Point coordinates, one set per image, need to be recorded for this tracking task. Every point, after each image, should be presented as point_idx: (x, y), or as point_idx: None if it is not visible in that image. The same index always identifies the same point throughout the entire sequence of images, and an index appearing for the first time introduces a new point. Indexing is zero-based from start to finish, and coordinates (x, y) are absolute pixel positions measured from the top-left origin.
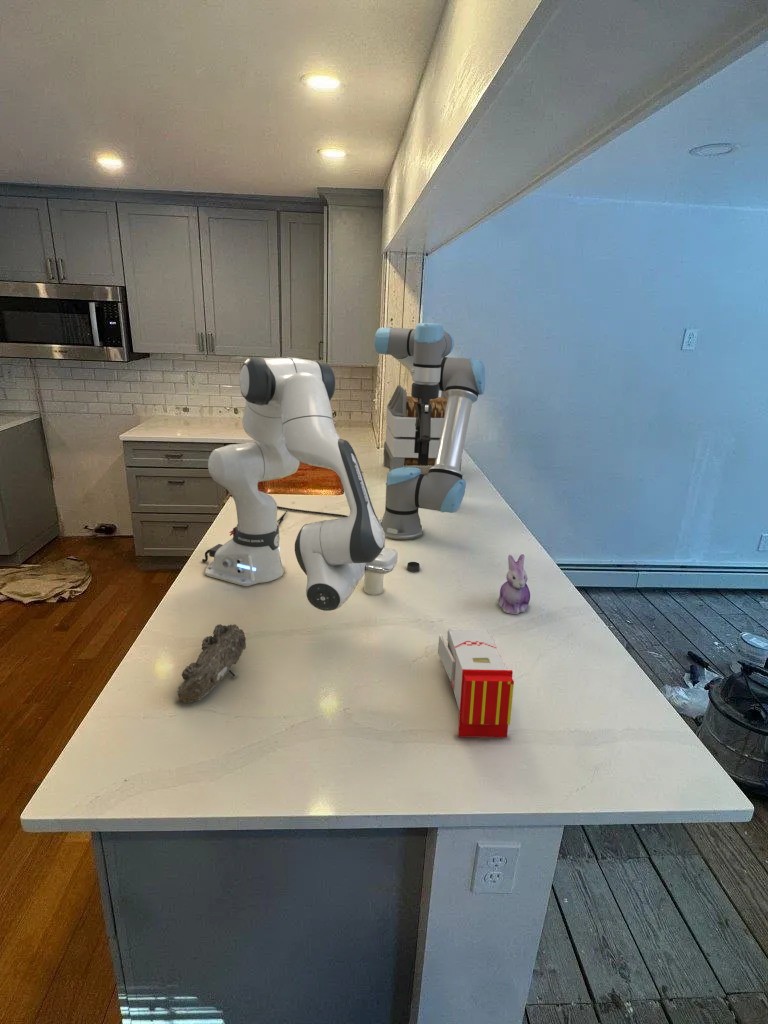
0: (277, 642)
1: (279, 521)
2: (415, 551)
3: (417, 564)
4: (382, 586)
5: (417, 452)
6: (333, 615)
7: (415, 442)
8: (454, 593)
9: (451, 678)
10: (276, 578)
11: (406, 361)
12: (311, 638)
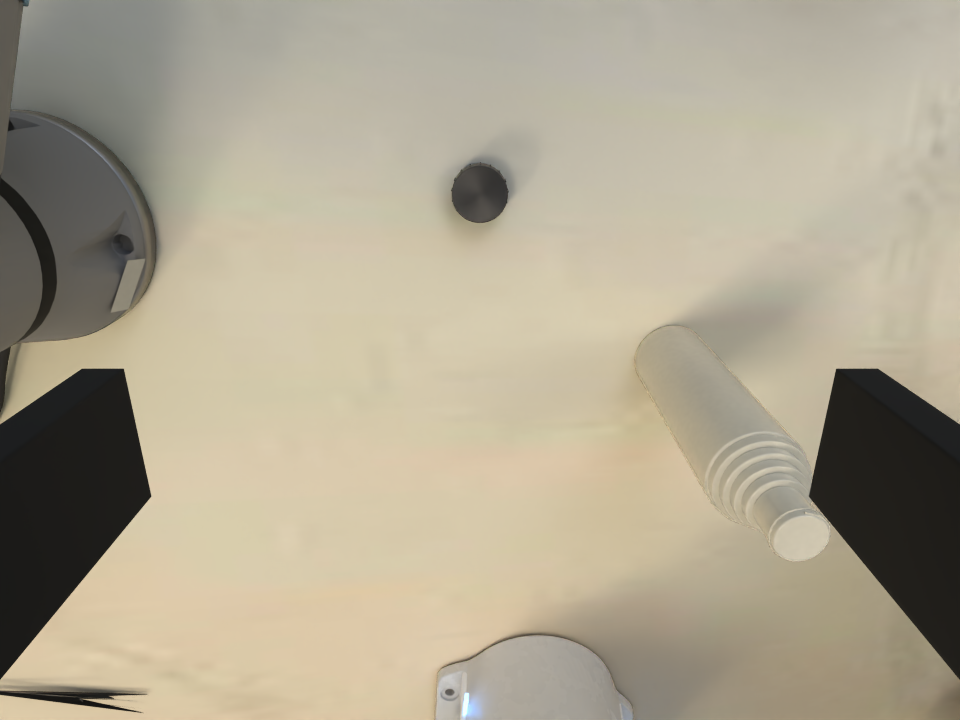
0: None
1: (92, 697)
2: (274, 165)
3: (481, 176)
4: (694, 335)
5: (138, 460)
6: None
7: (49, 606)
8: (717, 15)
9: None
10: (585, 648)
11: None
12: None
